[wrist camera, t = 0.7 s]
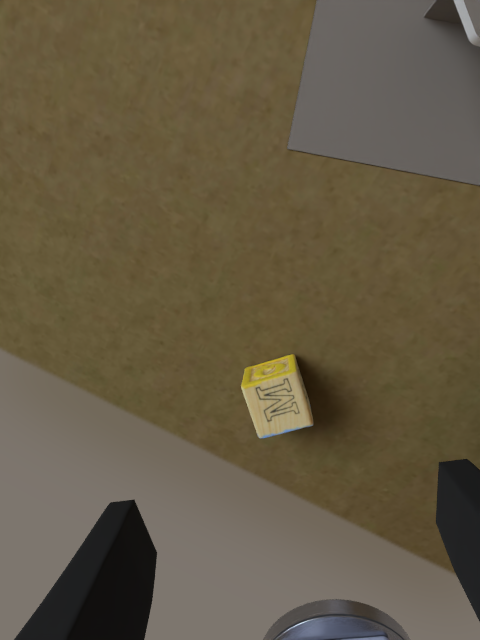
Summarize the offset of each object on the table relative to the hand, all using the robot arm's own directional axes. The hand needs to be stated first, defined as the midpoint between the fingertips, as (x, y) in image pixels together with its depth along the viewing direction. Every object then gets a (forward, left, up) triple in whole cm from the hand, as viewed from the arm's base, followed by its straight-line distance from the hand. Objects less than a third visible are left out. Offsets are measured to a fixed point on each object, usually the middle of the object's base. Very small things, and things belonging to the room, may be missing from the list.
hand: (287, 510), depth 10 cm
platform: (+13, -13, -14) cm, 23 cm away
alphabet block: (-2, 0, -14) cm, 14 cm away
